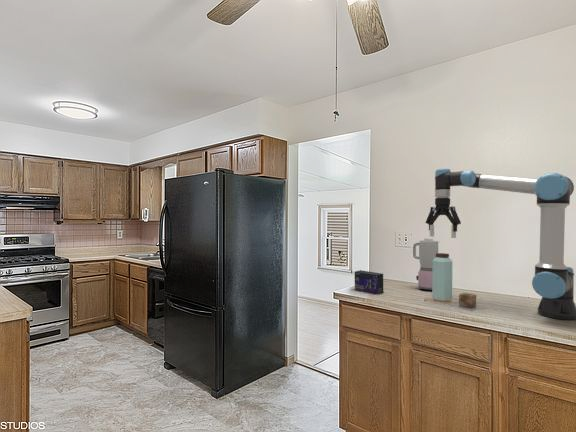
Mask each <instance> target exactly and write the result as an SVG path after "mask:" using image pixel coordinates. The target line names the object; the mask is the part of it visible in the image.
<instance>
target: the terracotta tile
mask: <svg viewBox="0 0 576 432" xmlns="http://www.w3.org/2000/svg"><path fill="white" fill-rule="evenodd" d="M423 301H424V302H426V301H430V302H433V303H438V304H440V305H450V304H456V303H459V300H455V299H453V298H452V299H451V301H450V302H440V301H436V300H434V299H433V298H432V297H430V298H429V297H428V298H424V299H423Z"/></svg>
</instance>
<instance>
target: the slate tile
mask: <svg viewBox="0 0 576 432" xmlns="http://www.w3.org/2000/svg"><path fill="white" fill-rule="evenodd" d="M448 306H449V307H453V308H457V309H462V310H466V311H469V312H474V311H480V310H485V309H487V307H485V306H481V305H477V304H476V307H474V308H472V309H471V308H465V307H460V306H459V302H456V303H450V304H448Z"/></svg>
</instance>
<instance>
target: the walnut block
mask: <svg viewBox="0 0 576 432" xmlns="http://www.w3.org/2000/svg"><path fill="white" fill-rule="evenodd" d="M458 301H459V302H458V303H459V306H460V307H465V308H471V309H472V308H474V307H476V305H477V294H476V293H469V292H462V293H459V294H458Z"/></svg>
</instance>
